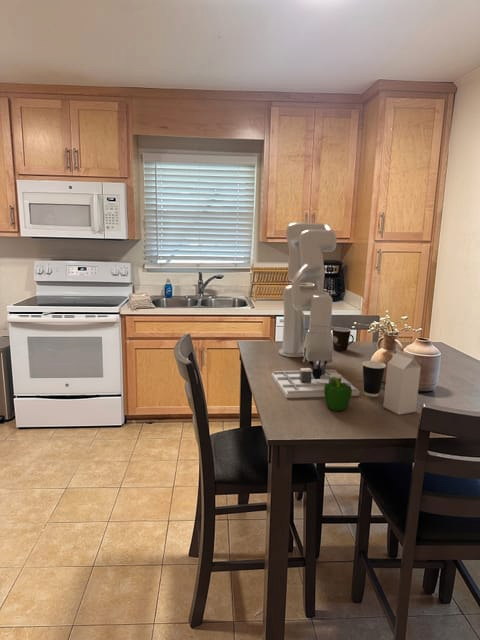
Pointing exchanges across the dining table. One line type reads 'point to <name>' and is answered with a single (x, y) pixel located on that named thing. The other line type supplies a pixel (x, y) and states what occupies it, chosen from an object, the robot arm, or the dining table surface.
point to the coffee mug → (341, 339)
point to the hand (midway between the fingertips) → (316, 378)
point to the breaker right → (336, 377)
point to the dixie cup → (372, 377)
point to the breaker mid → (305, 374)
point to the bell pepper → (337, 395)
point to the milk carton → (402, 383)
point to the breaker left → (322, 369)
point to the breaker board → (305, 384)
